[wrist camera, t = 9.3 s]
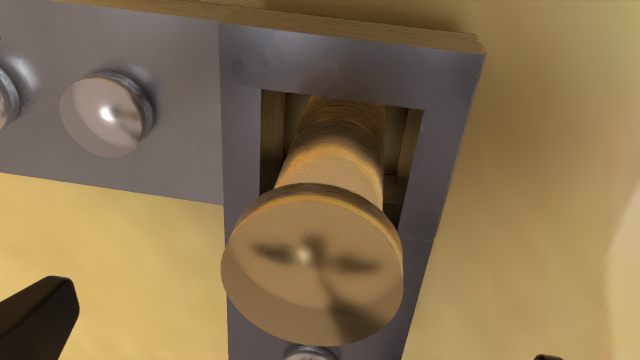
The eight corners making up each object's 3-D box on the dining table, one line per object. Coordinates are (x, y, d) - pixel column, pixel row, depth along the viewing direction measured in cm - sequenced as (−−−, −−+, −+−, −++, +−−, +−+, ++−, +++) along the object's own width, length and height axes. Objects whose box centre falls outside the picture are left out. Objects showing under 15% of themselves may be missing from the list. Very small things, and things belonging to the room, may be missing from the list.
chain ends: (400, 328, 24) (401, 416, 20) (18, 267, 25) (-51, 337, 21) (480, 19, 16) (508, 65, 12) (-91, -47, 17) (-236, -26, 13)
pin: (389, 167, 19) (387, 358, 11) (290, 153, 19) (222, 330, 12) (408, 70, 17) (420, 225, 9) (296, 56, 17) (217, 196, 9)
